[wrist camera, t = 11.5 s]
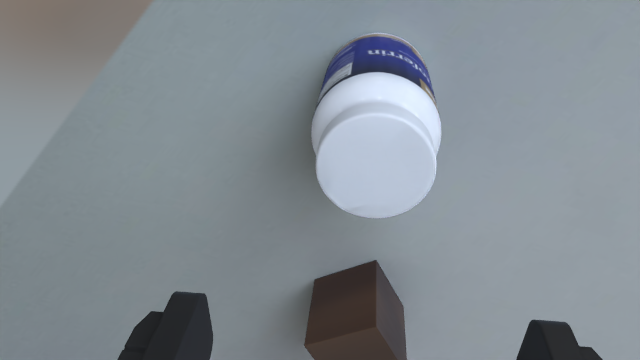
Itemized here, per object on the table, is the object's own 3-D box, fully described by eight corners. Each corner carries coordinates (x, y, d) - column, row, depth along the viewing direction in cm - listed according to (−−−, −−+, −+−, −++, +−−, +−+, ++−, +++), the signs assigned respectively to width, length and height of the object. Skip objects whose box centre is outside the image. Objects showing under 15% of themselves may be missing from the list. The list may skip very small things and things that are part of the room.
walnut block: (314, 279, 35) (303, 346, 30) (376, 259, 34) (376, 326, 29) (344, 323, 37) (338, 392, 32) (403, 306, 36) (407, 376, 31)
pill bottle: (449, 70, 26) (484, 159, 18) (385, 144, 29) (388, 252, 20) (365, 7, 25) (358, 71, 16) (305, 91, 27) (274, 183, 19)
